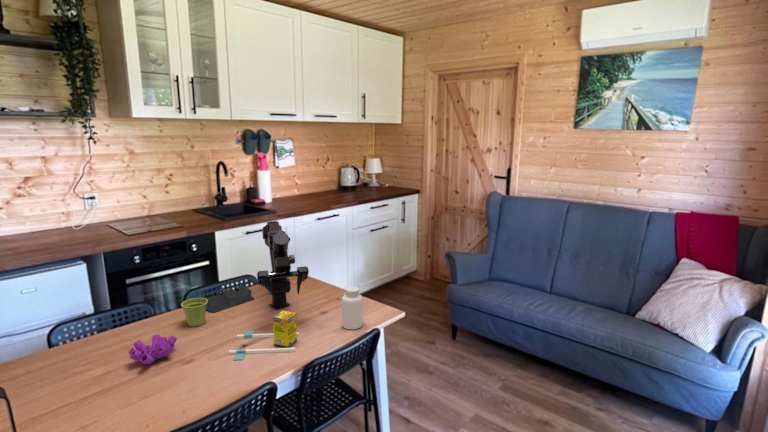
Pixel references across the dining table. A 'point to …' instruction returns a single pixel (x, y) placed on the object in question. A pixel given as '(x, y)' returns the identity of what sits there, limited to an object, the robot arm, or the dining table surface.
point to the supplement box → (285, 329)
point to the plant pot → (195, 311)
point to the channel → (241, 352)
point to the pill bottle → (352, 308)
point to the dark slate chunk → (229, 299)
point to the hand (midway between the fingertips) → (285, 295)
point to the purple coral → (152, 349)
